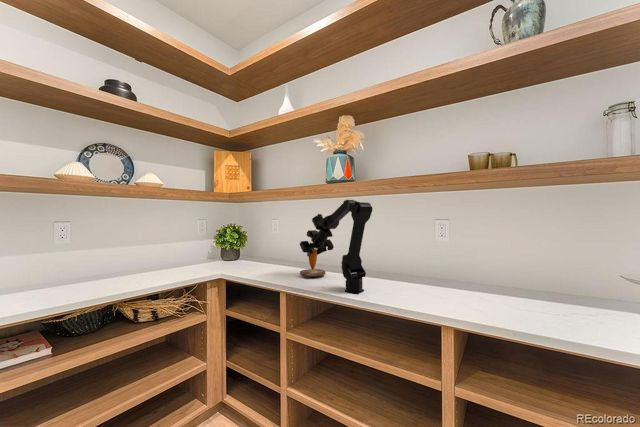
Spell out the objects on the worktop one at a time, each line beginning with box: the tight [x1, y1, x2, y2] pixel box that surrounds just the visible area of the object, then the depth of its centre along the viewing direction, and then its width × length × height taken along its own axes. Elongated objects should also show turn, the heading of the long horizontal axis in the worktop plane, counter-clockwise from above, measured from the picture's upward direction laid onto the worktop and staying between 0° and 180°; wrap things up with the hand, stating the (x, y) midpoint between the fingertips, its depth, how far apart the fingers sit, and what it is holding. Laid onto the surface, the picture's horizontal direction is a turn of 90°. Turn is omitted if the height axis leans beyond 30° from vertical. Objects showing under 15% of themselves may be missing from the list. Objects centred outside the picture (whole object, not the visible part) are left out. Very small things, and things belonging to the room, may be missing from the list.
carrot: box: [308, 241, 318, 270], centre depth 147 cm, size 5×5×15 cm
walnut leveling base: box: [299, 268, 326, 279], centre depth 147 cm, size 14×14×3 cm
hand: (311, 255), depth 148 cm, fingers closed on carrot, 5 cm apart
